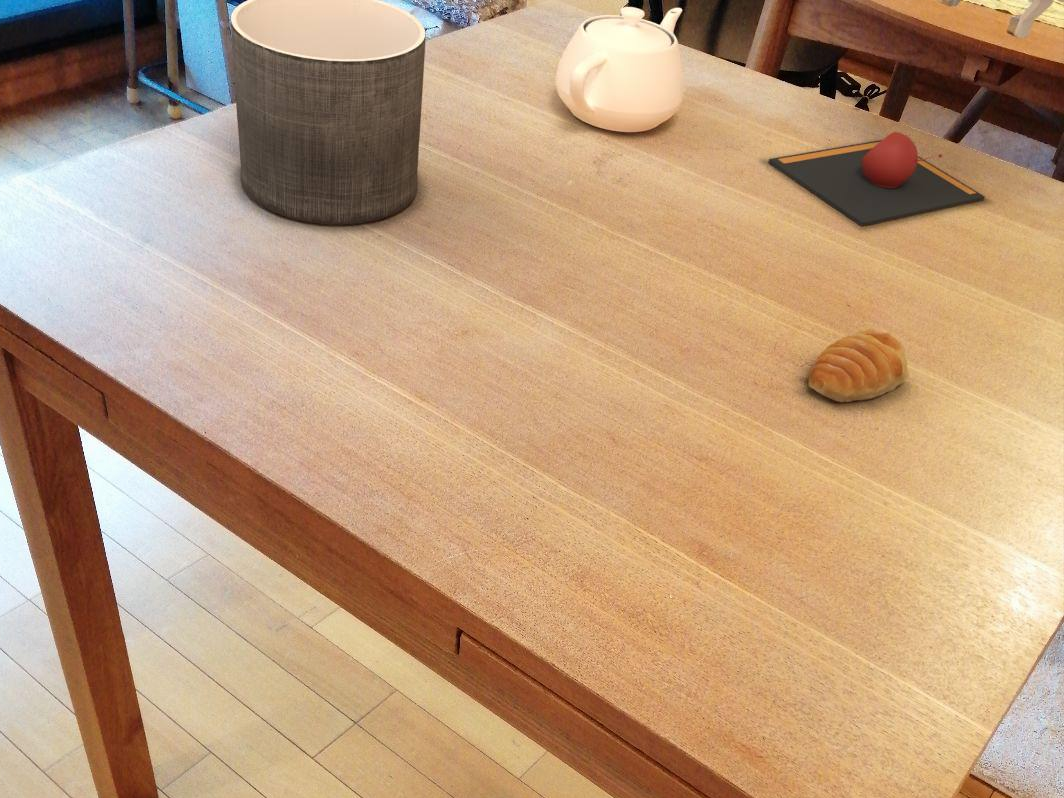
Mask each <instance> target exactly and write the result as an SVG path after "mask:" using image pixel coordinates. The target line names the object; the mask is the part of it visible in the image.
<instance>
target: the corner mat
mask: <svg viewBox="0 0 1064 798" xmlns="http://www.w3.org/2000/svg"><path fill="white" fill-rule="evenodd" d="M882 140H883V139H879V140H874V141H868V142H861V143H856V144H850V145H843V146H838V147H831V148H826V149H820V150H814V151H808V152H801V153H796V154H791V155H785V156H779V157H771V158H768V164H769V165H771V166H772V167H774V168H775V169H777V170H778V171H779V172H781V173H782V174H784V175H785V176H787V177H789V178H790V179H791V180H793V181H794V182H795V183H797V184H798V185H800V186H801V187H803V188H804V189H806V190H807V191H809V192H810V193H812V194H813V195H815V196H816V197H817V198H819V199H821V200H822V201H824V202H825V203H826V204H828V205H829V206H831V207H832V208H833V209H835V210H836V211H838V212H839V213H841V214H843V215H844V216H845V217H847V218H848V219H850V220H851V221H853V222H855V223H856V224H857V225H859V226H860V227H866V226H870V225H875V224H880V223H884V222H889V221H893V220H894V221H895V220H898V219H902V218H907V217H913V216H917V215H921V214H926V213H931V212H935V211H941V210H944V209H949V208H954V207H958V206H964V205H968V204H972V203H977V202H981V201H984V199H985V198H986V196H985V195H983V194H982V193H980V192H979V191H976V190H975V189H974V188H972V187H970V186H968V185H967V184H965V183H963V182H962V181H960V180H958V179H956V178H955V177H953V176H952V175H950V174H949V173H947V172H945V171H944V170H942V169H940V168H939V167H937V166H935V165H934V164H932V163H931V162H929V161H927V160H923V161H918V162H917V166H916V168H915V171H914V172H913V174H912V175H911V177H910V178H909V179H908V180H907V181H905V182H904V183H902V184H901V185H900V186H898V187H895V188H887V187H882V186H878V185H876V184H874V183H872V182H870V181H869V180H868V179H867V178H866V176H865V174H864V172H863V168H862V158H863V156H864V155H865V154H867V153H868V152H869V151H870V150H871V149H872V148H873V147H874V146H876V145H877V144H878V143H879V142H880V141H882ZM921 159H923V158H922V157H921V156H919V155H918V160H921Z"/></svg>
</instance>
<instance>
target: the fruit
mask: <svg viewBox="0 0 1064 798" xmlns="http://www.w3.org/2000/svg"><path fill="white" fill-rule="evenodd" d="M881 140H882V141H880V142H879V143H878V144H877V145H876V146H874V147H873V148H872V149H871V150H870V151H869V152H868V153H867V154H865V155H864V156H863V158H862V168H863V172H864V174H865V176H866V178H867V179H868V180H869V181H870V182H872V183H874V184H876V185H878V186H882V187H887V188H895V187H898V186H900V185H901V184H902V183H904V182H905V181H907V180H908V179H909V178H910V177H911V175H912V174H913V172H914V171H915V168H916V166H917V162H918V161H923V160H925V161H927V160H928V159H931V158H933V157H935V155H934V156H930V157H926V158H922V159H921V160H918V156H919V152H918V148H917V146H916V143H915V142H914V140H913V139H912V138H910V137H909V136H908V135H906V134H905V133H903V132H898V131H893V132H891V133H889V134H888V135H887V136H886V137H884V138H883V139H881ZM937 156H938V158H939V159H941V158H942V157H943V154H941V153H940V154H938V155H937Z"/></svg>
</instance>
